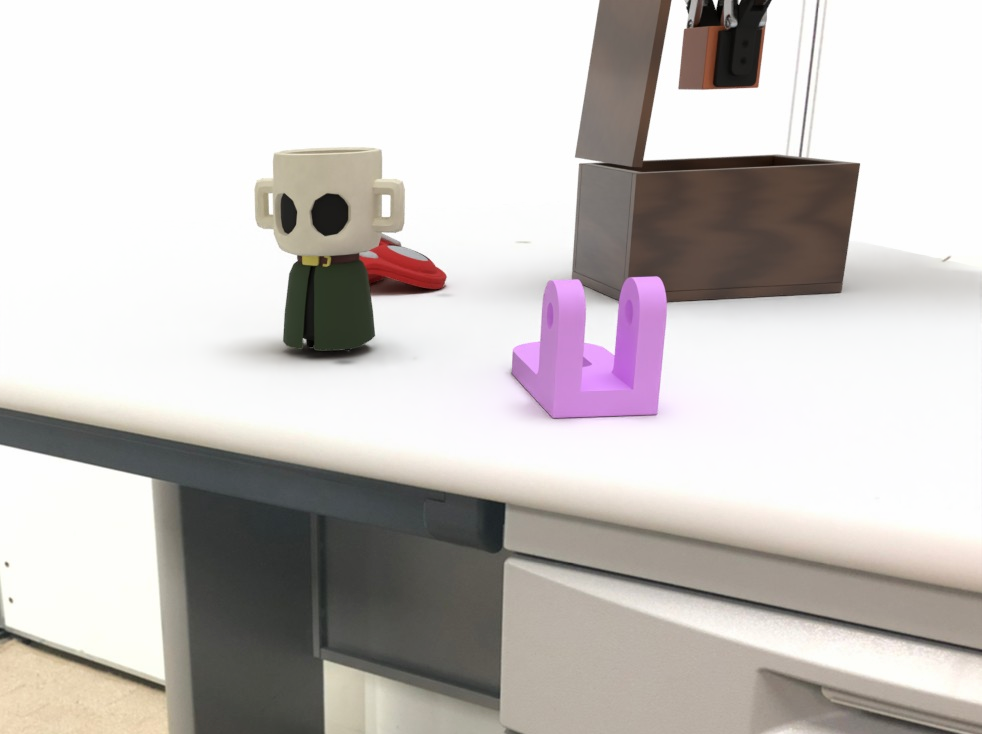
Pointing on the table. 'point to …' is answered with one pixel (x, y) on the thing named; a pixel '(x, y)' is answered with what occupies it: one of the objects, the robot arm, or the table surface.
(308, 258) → the character mug
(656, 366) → the bracket
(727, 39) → the robot arm
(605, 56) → the lid
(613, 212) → the walnut box
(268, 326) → the table surface
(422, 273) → the tracker holder
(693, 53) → the block
